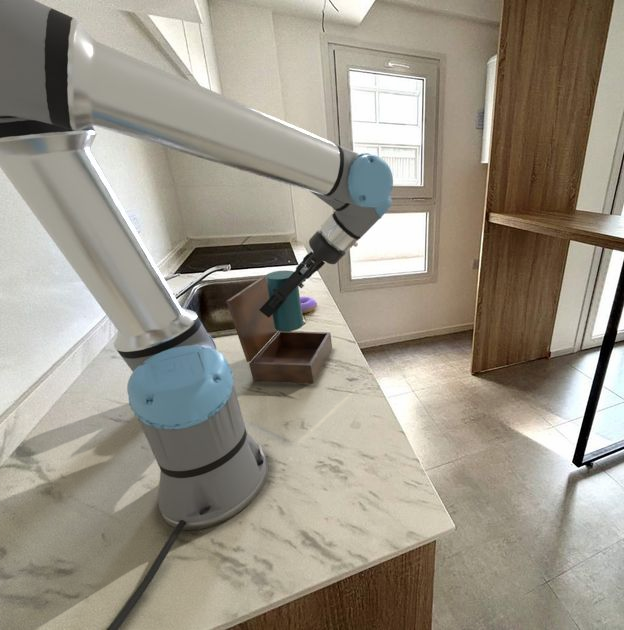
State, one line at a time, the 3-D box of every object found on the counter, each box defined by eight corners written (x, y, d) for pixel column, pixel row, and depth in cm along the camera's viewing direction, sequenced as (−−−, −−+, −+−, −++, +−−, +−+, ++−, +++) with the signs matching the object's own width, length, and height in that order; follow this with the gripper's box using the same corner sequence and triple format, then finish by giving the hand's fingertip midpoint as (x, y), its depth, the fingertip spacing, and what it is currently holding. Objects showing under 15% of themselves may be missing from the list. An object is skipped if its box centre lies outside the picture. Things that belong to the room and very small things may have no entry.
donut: (312, 301, 126) (311, 290, 123) (321, 314, 120) (320, 303, 117) (285, 306, 121) (284, 295, 118) (292, 320, 115) (291, 309, 112)
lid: (265, 276, 85) (262, 276, 85) (229, 300, 70) (226, 301, 70) (279, 329, 92) (276, 329, 92) (250, 361, 77) (246, 362, 77)
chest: (332, 350, 94) (330, 332, 92) (313, 385, 79) (311, 365, 77) (281, 348, 94) (278, 330, 92) (253, 384, 79) (248, 363, 77)
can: (288, 334, 77) (280, 281, 71) (268, 328, 79) (258, 276, 74) (309, 323, 82) (302, 273, 77) (289, 317, 85) (282, 269, 79)
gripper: (335, 265, 64) (266, 336, 71) (355, 243, 82) (298, 302, 89) (304, 236, 62) (236, 313, 69) (332, 220, 80) (275, 282, 87)
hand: (271, 306), depth 79 cm, fingers closed on can, 7 cm apart
